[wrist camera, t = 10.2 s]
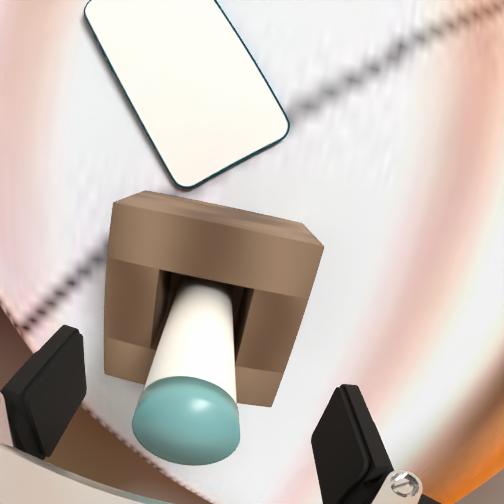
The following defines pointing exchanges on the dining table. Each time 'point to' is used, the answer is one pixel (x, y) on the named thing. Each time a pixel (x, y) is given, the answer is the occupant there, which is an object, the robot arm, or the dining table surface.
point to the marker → (192, 380)
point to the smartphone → (188, 83)
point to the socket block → (212, 268)
